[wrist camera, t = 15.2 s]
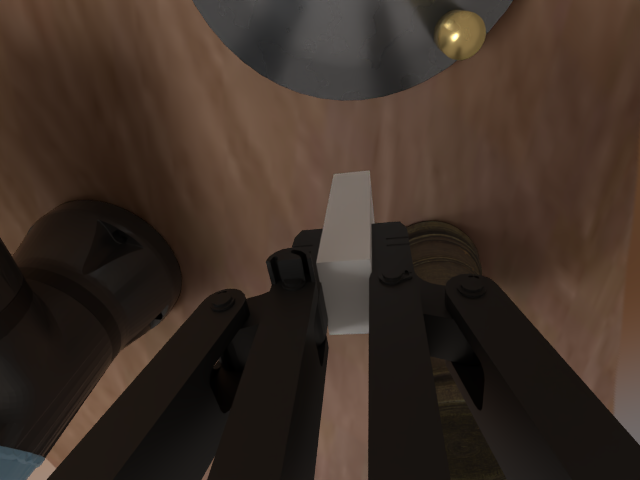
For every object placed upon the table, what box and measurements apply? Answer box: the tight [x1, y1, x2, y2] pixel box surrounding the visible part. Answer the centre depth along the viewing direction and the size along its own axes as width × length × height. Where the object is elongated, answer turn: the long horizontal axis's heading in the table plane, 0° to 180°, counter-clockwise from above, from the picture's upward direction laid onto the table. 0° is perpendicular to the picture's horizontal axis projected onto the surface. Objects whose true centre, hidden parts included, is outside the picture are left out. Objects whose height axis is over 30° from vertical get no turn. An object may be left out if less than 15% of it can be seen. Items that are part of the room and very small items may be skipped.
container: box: [406, 221, 507, 480], centre depth 30 cm, size 9×9×18 cm
